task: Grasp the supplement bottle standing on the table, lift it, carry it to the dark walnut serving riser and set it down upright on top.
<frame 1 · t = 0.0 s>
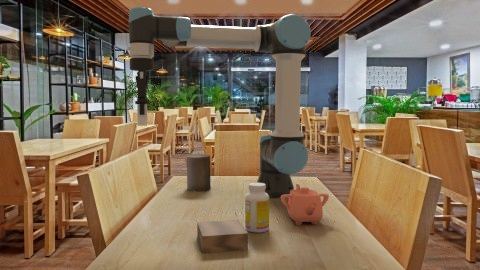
hand: (142, 124, 128), 28 cm above the table, fingers open, 13 cm apart
riser: (221, 243, 100), on the table
supplement bottle: (257, 230, 110), on the table
teapot: (304, 221, 119), on the table
pillar candle: (198, 189, 162), on the table
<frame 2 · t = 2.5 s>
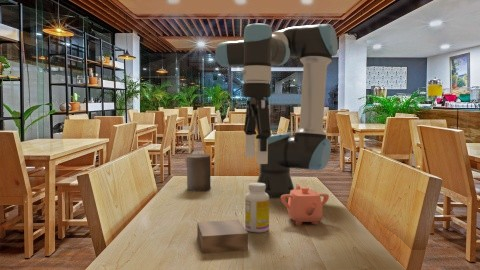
hand: (255, 160, 109), 19 cm above the table, fingers open, 13 cm apart
nothing on the table moved.
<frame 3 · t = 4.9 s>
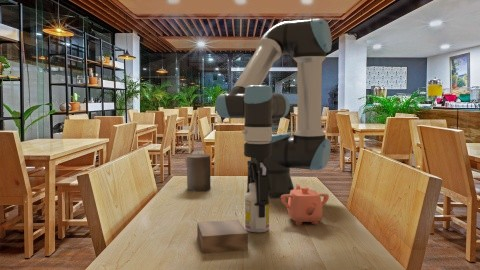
hand: (257, 224, 110), 2 cm above the table, fingers closed on supplement bottle, 7 cm apart
supplement bottle: (257, 230, 110), on the table, touching gripper
everything else where it was.
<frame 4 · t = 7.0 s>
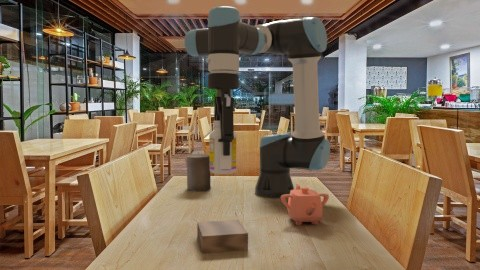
hand: (222, 166, 98), 19 cm above the table, fingers closed on supplement bottle, 7 cm apart
supplement bottle: (222, 173, 98), point 18 cm above the table, touching gripper
everything else where it was.
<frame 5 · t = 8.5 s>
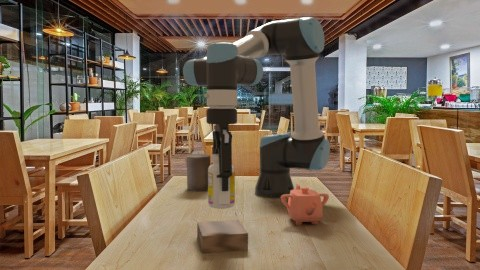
hand: (221, 200, 99), 11 cm above the table, fingers closed on supplement bottle, 7 cm apart
supplement bottle: (221, 206, 99), point 9 cm above the table, touching gripper
everything else where it was.
when the fingers open (7 cm above the table, at t = 9.6 s): supplement bottle drops 1 cm, resting on riser.
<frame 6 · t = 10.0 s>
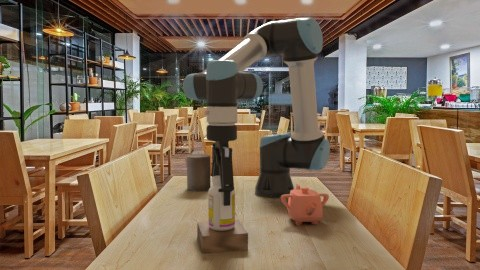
hand: (221, 211, 99), 8 cm above the table, fingers open, 11 cm apart
supplement bottle: (221, 228, 99), point 4 cm above the table, touching riser
everything else where it was.
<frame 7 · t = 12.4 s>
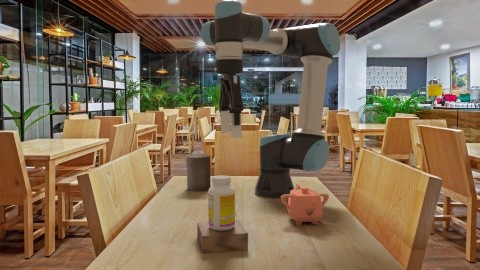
hand: (230, 135, 112), 26 cm above the table, fingers open, 13 cm apart
nothing on the table moved.
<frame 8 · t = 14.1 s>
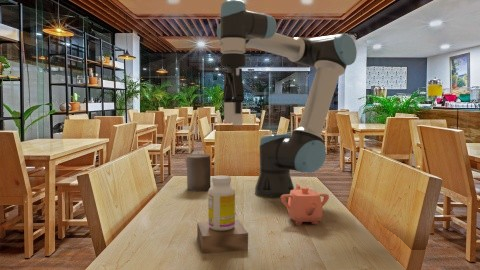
hand: (232, 123, 122), 29 cm above the table, fingers open, 13 cm apart
nothing on the table moved.
at the end: supplement bottle inside the target area on the riser (0.1 cm from its centre), point 3.8 cm above the riser's base; supplement bottle tilted 0°; the gripper is holding nothing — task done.
